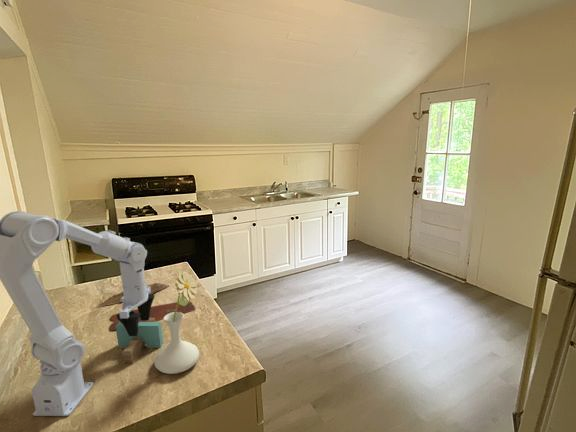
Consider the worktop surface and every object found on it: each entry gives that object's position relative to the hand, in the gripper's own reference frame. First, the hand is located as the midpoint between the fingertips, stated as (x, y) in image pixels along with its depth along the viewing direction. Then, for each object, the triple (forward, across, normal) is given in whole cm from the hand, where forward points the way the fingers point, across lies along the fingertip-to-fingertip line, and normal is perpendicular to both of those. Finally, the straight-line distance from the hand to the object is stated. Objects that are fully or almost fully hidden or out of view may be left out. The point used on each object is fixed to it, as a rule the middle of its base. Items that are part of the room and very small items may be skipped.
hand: (139, 327), depth 92 cm
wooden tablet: (+7, -17, -3) cm, 18 cm away
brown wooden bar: (+6, 0, 0) cm, 6 cm away
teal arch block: (+6, 0, 0) cm, 6 cm away
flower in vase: (+6, +7, +13) cm, 16 cm away
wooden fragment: (+6, -30, -16) cm, 35 cm away
